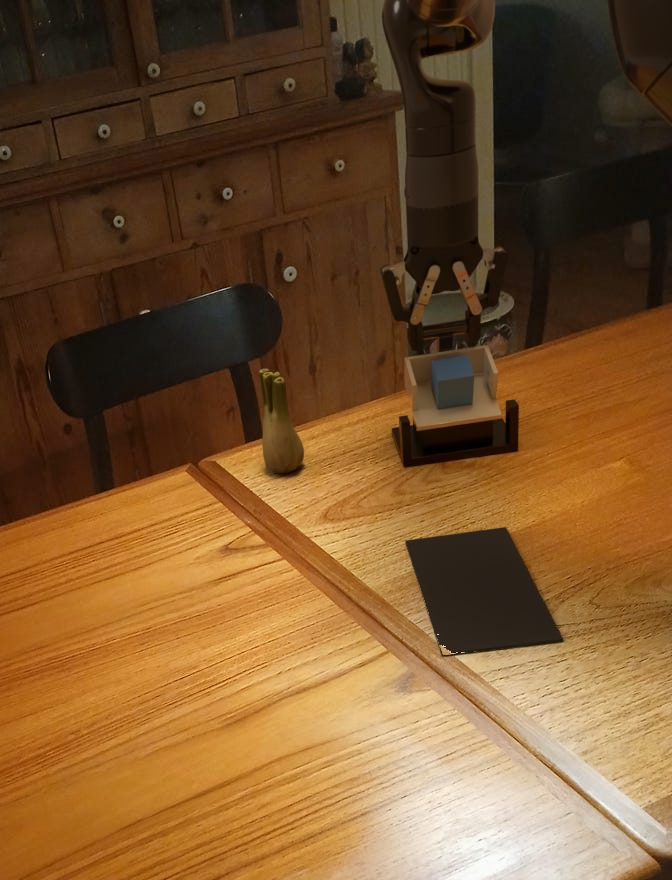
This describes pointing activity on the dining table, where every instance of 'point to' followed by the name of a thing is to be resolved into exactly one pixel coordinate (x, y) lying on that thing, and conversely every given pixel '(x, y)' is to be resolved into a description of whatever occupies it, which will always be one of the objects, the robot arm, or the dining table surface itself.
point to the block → (452, 382)
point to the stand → (457, 439)
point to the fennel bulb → (278, 426)
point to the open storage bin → (421, 371)
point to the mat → (480, 592)
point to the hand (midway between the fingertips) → (444, 348)
